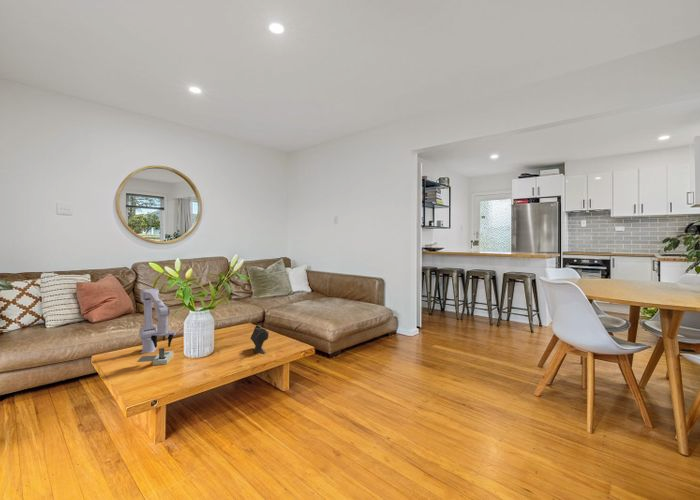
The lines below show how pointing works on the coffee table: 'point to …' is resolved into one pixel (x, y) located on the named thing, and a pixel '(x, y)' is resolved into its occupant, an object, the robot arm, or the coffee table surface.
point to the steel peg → (161, 353)
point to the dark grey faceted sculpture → (259, 338)
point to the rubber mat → (146, 358)
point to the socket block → (163, 361)
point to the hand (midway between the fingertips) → (162, 346)
